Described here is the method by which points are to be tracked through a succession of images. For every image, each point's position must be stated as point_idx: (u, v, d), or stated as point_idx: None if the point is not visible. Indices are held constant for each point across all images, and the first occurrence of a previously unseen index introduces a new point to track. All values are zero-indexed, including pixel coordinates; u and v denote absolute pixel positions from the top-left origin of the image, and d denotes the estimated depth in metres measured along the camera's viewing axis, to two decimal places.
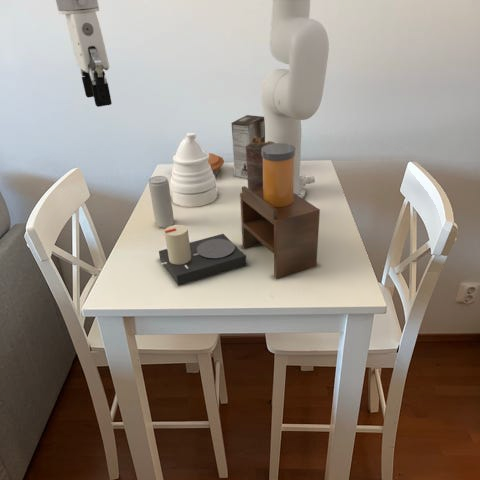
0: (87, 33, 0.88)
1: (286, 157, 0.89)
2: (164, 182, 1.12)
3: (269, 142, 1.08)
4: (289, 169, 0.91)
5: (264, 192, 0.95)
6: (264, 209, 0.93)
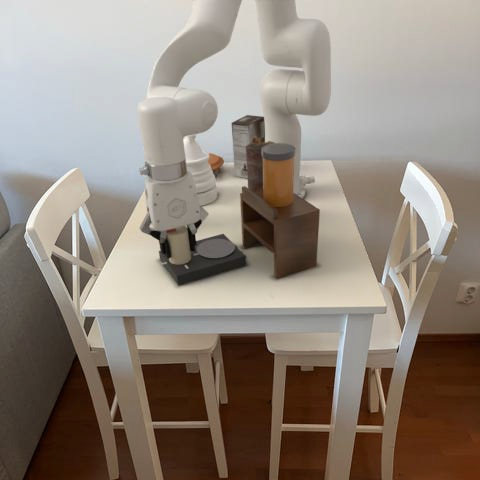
0: None
1: (286, 157, 0.89)
2: None
3: (269, 142, 1.08)
4: (289, 169, 0.91)
5: (264, 192, 0.95)
6: (264, 209, 0.93)
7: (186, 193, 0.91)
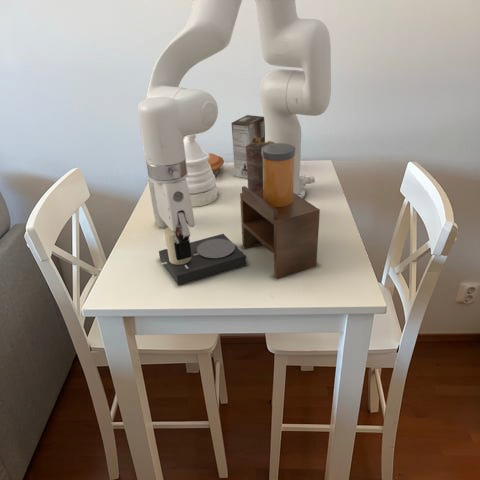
0: (177, 198, 0.89)
1: (286, 157, 0.89)
2: None
3: (269, 142, 1.08)
4: (289, 169, 0.91)
5: (264, 192, 0.95)
6: (264, 209, 0.93)
7: None
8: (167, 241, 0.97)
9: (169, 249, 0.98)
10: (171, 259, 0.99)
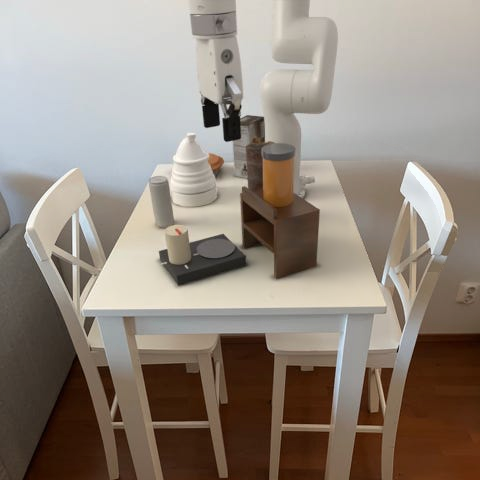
0: (224, 60, 0.77)
1: (286, 157, 0.89)
2: (164, 182, 1.12)
3: (269, 142, 1.08)
4: (289, 169, 0.91)
5: (264, 192, 0.95)
6: (264, 209, 0.93)
7: None
8: (167, 241, 0.97)
9: (169, 249, 0.98)
10: (171, 259, 0.99)
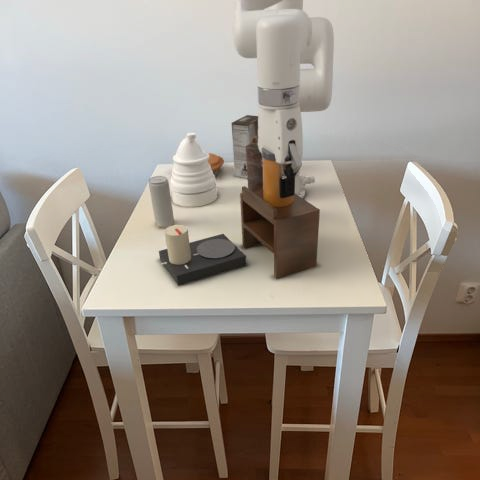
0: (288, 127, 0.85)
1: (286, 157, 0.89)
2: (164, 182, 1.12)
3: None
4: None
5: (264, 192, 0.95)
6: (264, 209, 0.93)
7: None
8: (167, 241, 0.97)
9: (169, 249, 0.98)
10: (171, 259, 0.99)
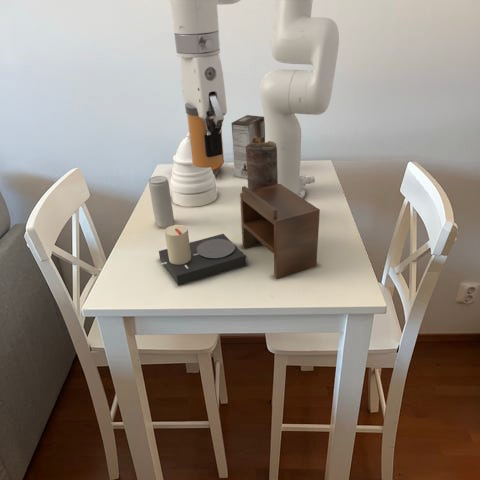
0: (208, 77, 0.80)
1: (209, 111, 0.84)
2: (164, 182, 1.12)
3: (269, 142, 1.08)
4: None
5: (191, 152, 0.90)
6: (264, 209, 0.93)
7: None
8: (167, 241, 0.97)
9: (169, 249, 0.98)
10: (171, 259, 0.99)
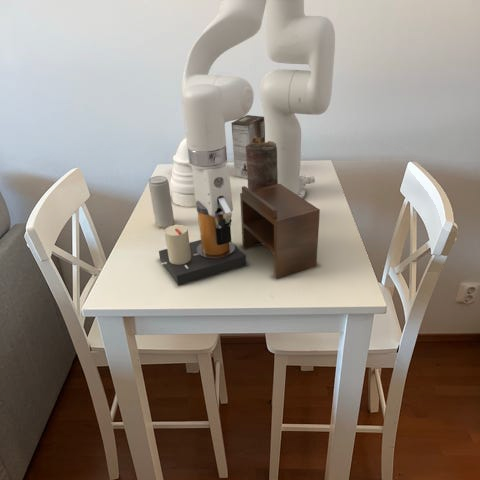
0: (217, 184, 0.91)
1: (217, 211, 0.95)
2: (164, 182, 1.12)
3: (269, 142, 1.08)
4: None
5: (201, 241, 1.02)
6: (264, 209, 0.93)
7: None
8: (167, 241, 0.97)
9: (169, 249, 0.98)
10: (171, 259, 0.99)
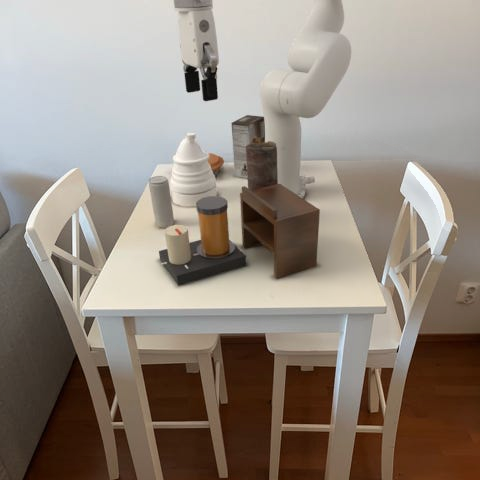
0: (202, 30, 0.91)
1: (217, 211, 0.95)
2: (164, 182, 1.12)
3: (269, 142, 1.08)
4: (222, 222, 0.98)
5: (201, 241, 1.02)
6: (264, 209, 0.93)
7: None
8: (167, 241, 0.97)
9: (169, 249, 0.98)
10: (171, 259, 0.99)
